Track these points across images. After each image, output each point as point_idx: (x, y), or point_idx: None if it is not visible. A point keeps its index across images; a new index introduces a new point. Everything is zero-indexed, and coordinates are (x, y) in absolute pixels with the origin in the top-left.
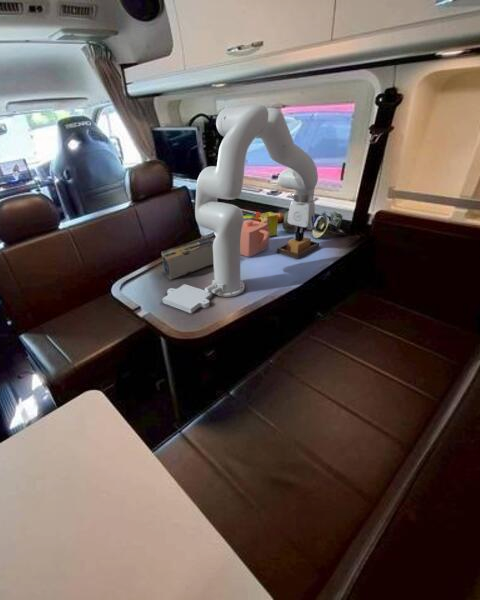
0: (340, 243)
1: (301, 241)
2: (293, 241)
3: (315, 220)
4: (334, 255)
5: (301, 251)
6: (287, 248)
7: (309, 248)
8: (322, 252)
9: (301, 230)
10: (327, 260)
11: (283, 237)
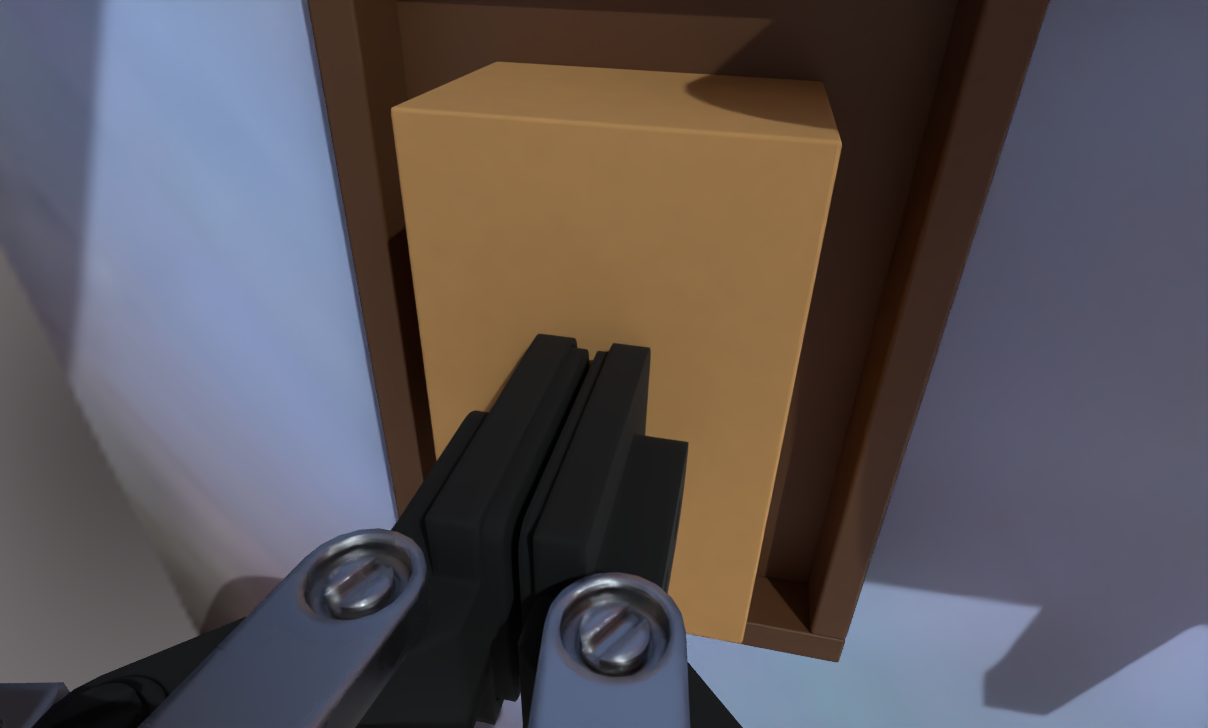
0: None
1: (495, 377)
2: (676, 281)
3: None
4: (120, 377)
5: (359, 67)
6: (799, 89)
7: (365, 318)
8: (288, 394)
9: (286, 620)
10: (17, 160)
11: (1200, 674)
